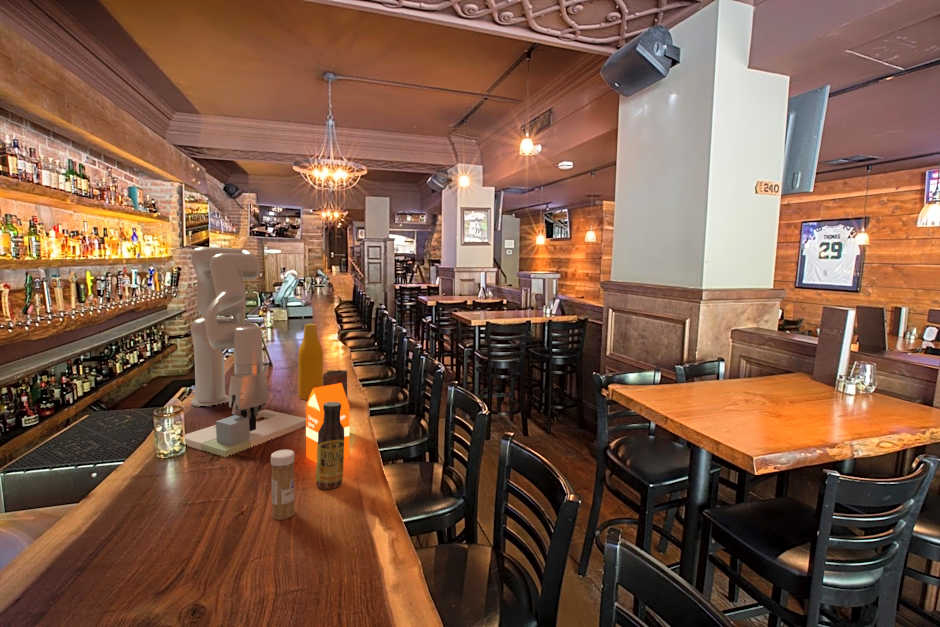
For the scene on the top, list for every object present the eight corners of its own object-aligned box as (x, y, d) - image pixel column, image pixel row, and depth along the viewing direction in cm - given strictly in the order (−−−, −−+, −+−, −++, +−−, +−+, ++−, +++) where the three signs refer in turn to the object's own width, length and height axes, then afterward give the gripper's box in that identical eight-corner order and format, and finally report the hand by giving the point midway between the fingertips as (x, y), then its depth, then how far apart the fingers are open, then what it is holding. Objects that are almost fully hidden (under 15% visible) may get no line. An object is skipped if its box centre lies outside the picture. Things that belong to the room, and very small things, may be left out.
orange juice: (349, 456, 127) (349, 385, 125) (320, 465, 121) (320, 391, 119) (334, 448, 133) (334, 380, 131) (305, 456, 126) (305, 385, 124)
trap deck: (178, 443, 133) (178, 436, 133) (265, 414, 160) (265, 409, 159) (225, 457, 124) (225, 450, 124) (308, 424, 151) (308, 419, 151)
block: (216, 441, 130) (215, 421, 129) (235, 434, 135) (234, 415, 134) (231, 446, 127) (230, 425, 127) (249, 438, 133) (249, 418, 132)
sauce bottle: (318, 493, 107) (318, 409, 105) (314, 481, 112) (313, 401, 110) (347, 487, 110) (347, 405, 108) (341, 476, 115) (341, 398, 113)
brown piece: (340, 439, 139) (340, 374, 137) (318, 437, 141) (317, 372, 139) (351, 431, 147) (352, 369, 145) (330, 428, 148) (330, 367, 146)
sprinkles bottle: (293, 519, 95) (292, 456, 94) (269, 521, 94) (268, 458, 93) (296, 508, 100) (295, 448, 98) (273, 510, 99) (273, 449, 97)
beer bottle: (328, 396, 184) (328, 324, 181) (308, 401, 176) (308, 326, 173) (312, 392, 189) (312, 322, 186) (293, 397, 181) (292, 324, 178)
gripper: (261, 362, 143) (262, 420, 145) (216, 372, 130) (218, 435, 131) (278, 365, 140) (279, 424, 142) (234, 375, 126) (236, 440, 128)
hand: (249, 429), depth 136 cm, fingers closed
